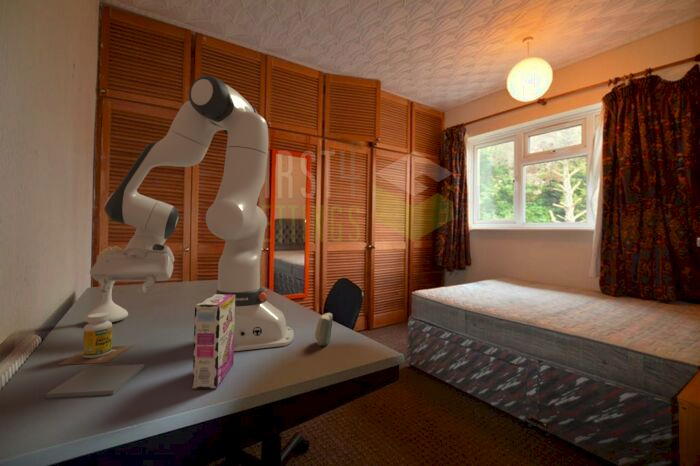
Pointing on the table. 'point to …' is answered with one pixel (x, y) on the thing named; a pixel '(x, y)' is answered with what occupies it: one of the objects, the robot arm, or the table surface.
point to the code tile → (107, 358)
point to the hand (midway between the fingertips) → (122, 291)
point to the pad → (96, 381)
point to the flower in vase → (109, 295)
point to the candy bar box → (213, 340)
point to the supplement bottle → (97, 336)
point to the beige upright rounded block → (324, 329)
